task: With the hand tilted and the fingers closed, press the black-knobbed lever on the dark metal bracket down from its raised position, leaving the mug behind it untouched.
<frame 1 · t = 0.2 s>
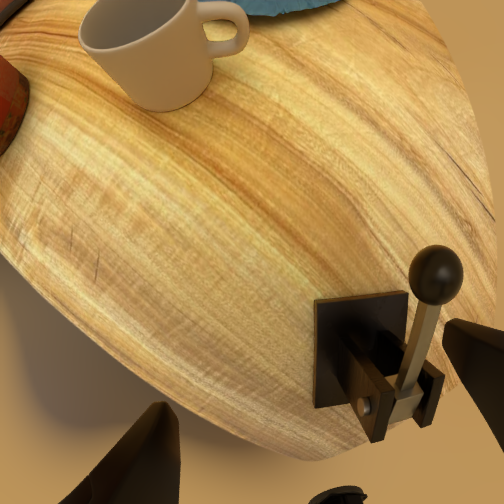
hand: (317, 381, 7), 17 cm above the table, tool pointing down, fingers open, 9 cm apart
bracket: (358, 349, 25), on the table
food container: (1, 118, 23), on the table
mug: (187, 73, 23), on the table
lever: (418, 345, 14), point 10 cm above the table, hinge at 15.0°
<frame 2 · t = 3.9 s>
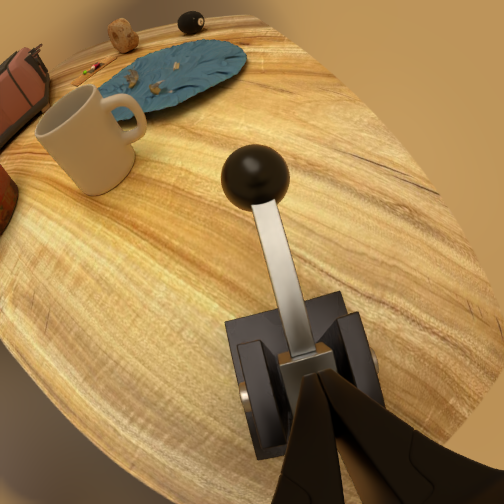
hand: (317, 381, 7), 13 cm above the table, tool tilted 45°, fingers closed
bracket: (301, 378, 19), on the table
blue flat round piece: (159, 80, 40), on the table
toaster: (14, 122, 50), on the table
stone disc: (128, 51, 51), on the table
mug: (119, 165, 32), on the table
billiard ball: (194, 33, 49), on the table
lever: (282, 275, 12), point 10 cm above the table, hinge at 15.0°
board: (93, 71, 50), on the table
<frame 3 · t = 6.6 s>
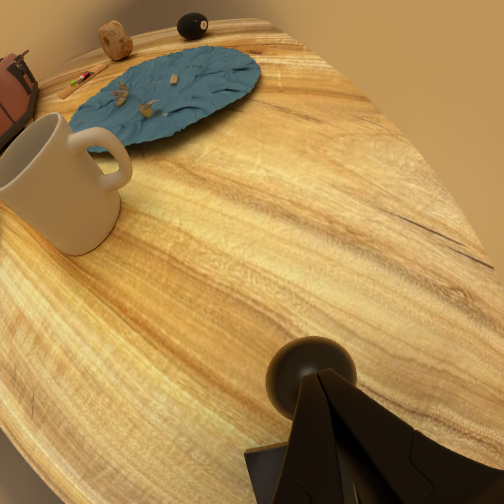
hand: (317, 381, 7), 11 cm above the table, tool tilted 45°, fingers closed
bracket: (329, 499, 13), on the table
blue flat round piece: (153, 96, 34), on the table
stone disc: (121, 58, 46), on the table
mug: (101, 214, 25), on the table
billiard ball: (196, 38, 44), on the table
lever: (338, 491, 7), point 9 cm above the table, hinge at -1.8°, touching gripper
board: (82, 81, 44), on the table
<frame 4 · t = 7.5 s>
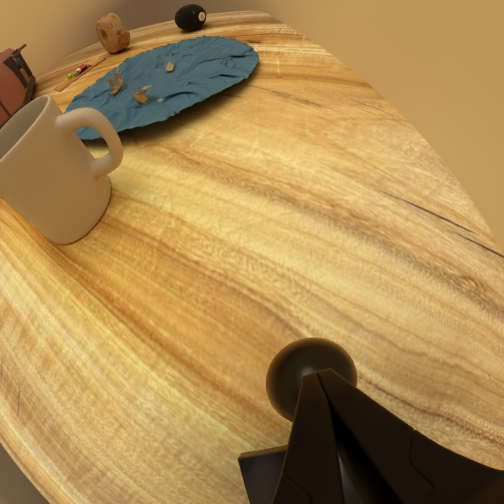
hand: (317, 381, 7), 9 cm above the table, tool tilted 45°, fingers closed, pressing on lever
blue flat round piece: (149, 84, 32), on the table
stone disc: (118, 51, 44), on the table
mug: (92, 202, 24), on the table
billiard ball: (194, 29, 42), on the table
lever: (342, 499, 6), point 8 cm above the table, hinge at -13.4°, touching gripper
board: (79, 74, 43), on the table
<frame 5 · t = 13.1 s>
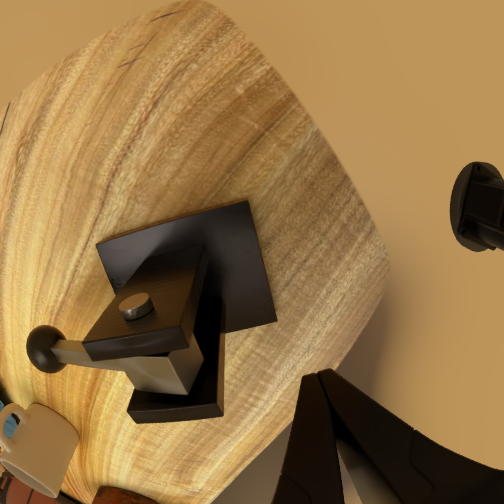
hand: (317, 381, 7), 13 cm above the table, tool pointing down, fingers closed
bracket: (187, 278, 20), on the table
toaster: (53, 495, 39), on the table
food container: (129, 498, 34), on the table
mug: (46, 414, 25), on the table
lever: (90, 354, 13), point 8 cm above the table, hinge at -13.5°
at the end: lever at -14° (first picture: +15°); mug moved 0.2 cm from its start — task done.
